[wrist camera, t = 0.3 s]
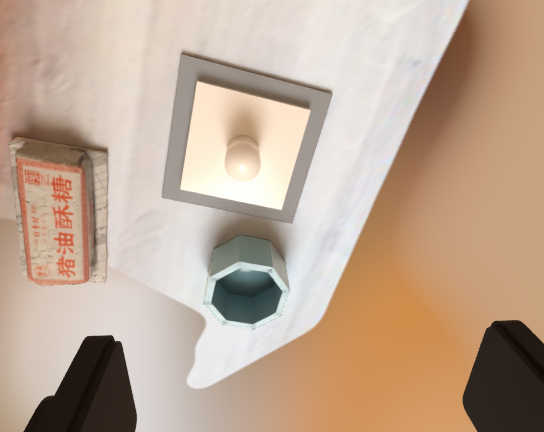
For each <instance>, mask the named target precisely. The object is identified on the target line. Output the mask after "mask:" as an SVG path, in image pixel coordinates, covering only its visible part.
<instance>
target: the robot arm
mask: <svg viewBox="0 0 544 432" xmlns="http://www.w3.org/2000/svg"><path fill="white" fill-rule="evenodd" d="M463 406H464V409H465V411H466V413H467V415H468V416H469V418H470V420H471V421H472V423H473V425H474V426H475V428H476V430H477V431H478V432H544V344H543V343H542V341H540V339H539V338H538V337H537V336H536V335H535V334H533V332H532V331H531V330H530V329H529V328H528V327H527V326H526V325H525V324H524V323H522V322H521V321H518V320H508V321H494V322H493V323H492V325H491V326H490V327H489V328H487V329H486V331H485V334H484V337H483V340H482V342H481V345H480V348H479V351H478V354H477V357H476V360H475V363H474V366H473V368H472V371H471V374H470V377H469V380H468V383H467V386H466V389H465V392H464V394H463ZM136 423H137V413H136V409H135V404H134V399H133V394H132V390H131V385H130V380H129V375H128V371H127V366H126V361H125V357H124V352H123V347H122V344H121V342H120V341H115V340H114V337H113V336H112V335H108V336H87V337H86V338H85V339H84V340H83V342H82V344H81V346H80V348H79V350H78V352H77V354H76V355H75V357H74V359H73V361H72V363H71V365H70V367H69V369H68V371H67V373H66V374H65V377H64V378H63V380H62V382H61V384H60V386H59V388H58V390H57V392H56V393H55V395H54V396H48V397H46V398H44V399H43V400H42V401H41V403H40V404H39V405H38V407H37V409H36V410H35V412H34V414H33V416H32V418H31V419H30V421H29V423H28V425H27V426H26V428H25V430H24V432H135V429H136Z"/></svg>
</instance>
